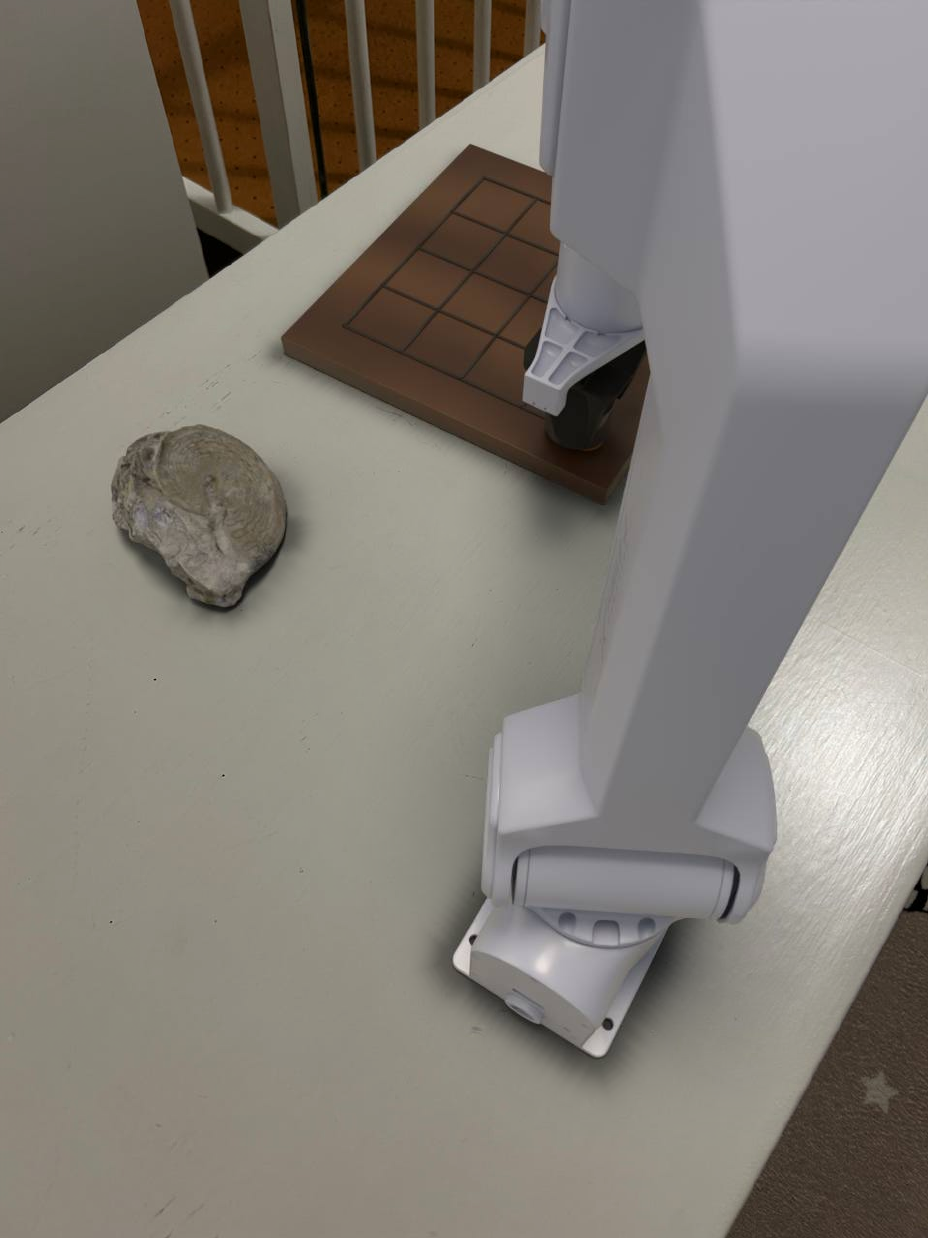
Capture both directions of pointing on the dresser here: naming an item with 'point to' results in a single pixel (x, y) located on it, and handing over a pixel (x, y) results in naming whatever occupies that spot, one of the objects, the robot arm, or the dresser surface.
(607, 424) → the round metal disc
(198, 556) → the fossilized seashell
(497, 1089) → the dresser surface
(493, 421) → the board
